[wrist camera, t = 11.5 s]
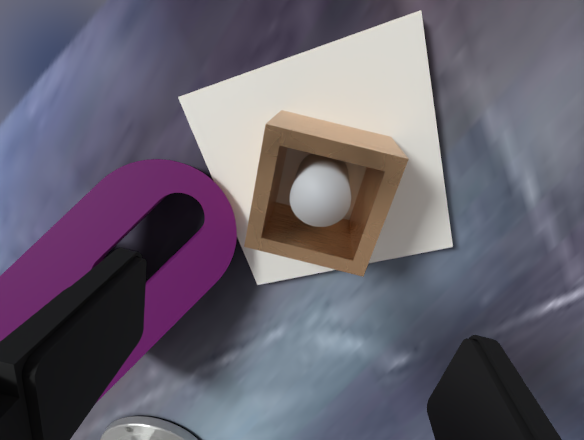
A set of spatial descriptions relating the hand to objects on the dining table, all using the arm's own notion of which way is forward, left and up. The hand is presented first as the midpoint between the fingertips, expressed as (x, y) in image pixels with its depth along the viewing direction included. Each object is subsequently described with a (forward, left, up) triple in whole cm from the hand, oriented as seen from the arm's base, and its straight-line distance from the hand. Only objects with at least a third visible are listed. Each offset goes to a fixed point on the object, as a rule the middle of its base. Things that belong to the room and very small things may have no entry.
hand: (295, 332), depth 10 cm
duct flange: (+1, -1, -14) cm, 14 cm away
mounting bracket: (-2, +15, -14) cm, 20 cm away
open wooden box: (+1, -1, -13) cm, 13 cm away
